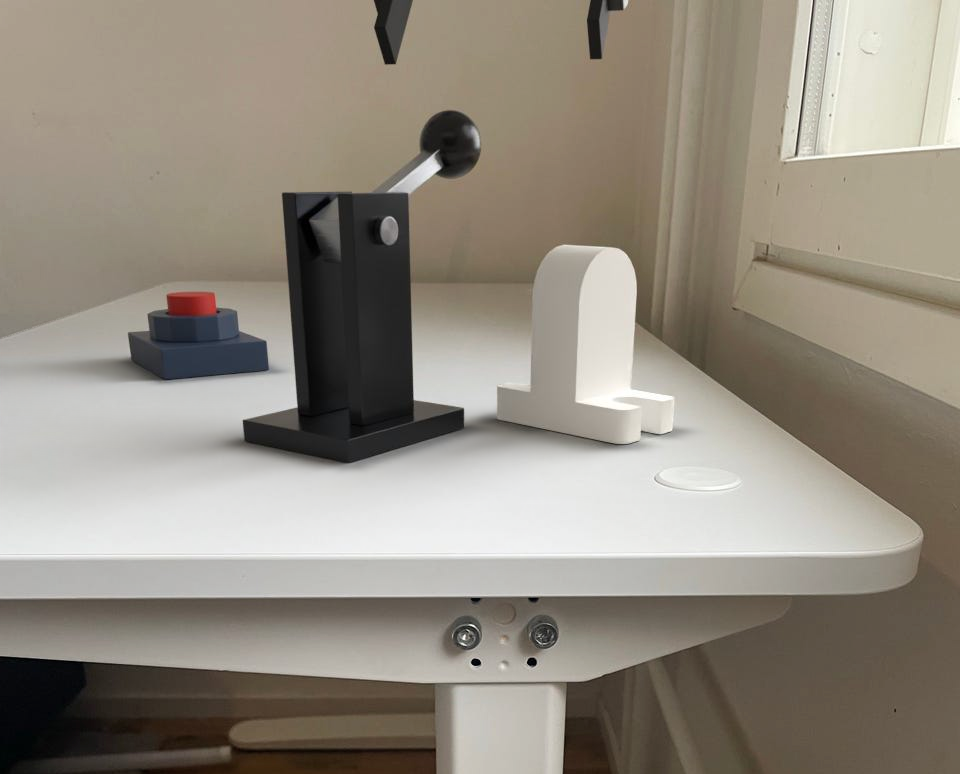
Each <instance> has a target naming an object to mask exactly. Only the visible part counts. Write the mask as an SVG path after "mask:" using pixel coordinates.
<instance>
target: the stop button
mask: <svg viewBox="0 0 960 774" xmlns="http://www.w3.org/2000/svg"><path fill="white" fill-rule="evenodd" d="M165 298H166V306H167V309H168V314H169V315H177V316H195V315H209V314H216V313H217V310H216V308H217V302H216V293H214V292H212V291H175V292H171V293H167V294H166V296H165Z"/></svg>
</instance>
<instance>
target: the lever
mask: <svg viewBox="0 0 960 774" xmlns="http://www.w3.org/2000/svg"><path fill="white" fill-rule="evenodd" d="M419 152H420V153H418V154H417V155H416V156H415V157H414V158H413V159H411V160H410V161H408V162H407V163H406V164H405V165H404V166H402V167H401V168H400V169H398V170H397V171H395V173H394V174H392V175H391V176H390V177H389V178H387V179H386V180H384V181H383V182H382V183H381V184H380V185H379V186H378V187H376V188H375V189H374V190H373V191H371V192H370V193H378V192H408V197H409V196H410V195H411V194H413V193H414V192H415V191H416V190H418V189H419V188H421V186H422V185H424V184H425V183H426V182H427V181H428V180H429V179H431V178H432V177H433V176H434V175H436V176H438V177H440V178H443V179H448V180H454V179H458V178H462V177H464V176H466V175H467V174H469V173H470V172H471V171H472V170H473V169H474V168H475V167H476V165H477V163H478V161H479V159H480V157H481V153H482V136H481V133H480V130H479V128H478V126H477V125H476V123H475V122H474V120H473V119H471V117H469V115H468V114H465V113H464V112H461V111H460V110H455V109H445V110H441V111H438V112H436V113H434V114H433V115H432V116H431V117H430V118H429V119H427V121H426V122H425V123H424V125H423V127H422V130H421V132H420V135H419ZM309 223H310V225H311V228H312V231H313V233H314V236H315V238H316V241H317V244H318V246H319V249H320V252H321V254H322V257H323V260H324V262H330V263H341V250H340V231H339V212H338V197H337V198H336V199H335V200H333V201H332V202H331V203H330V204H328V205H327V206H326V207H324V208H323V209H322V210H321V211H319V212H318V213H317V214H316V215H314V216H313V217H312V218H310V219H309Z"/></svg>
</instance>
